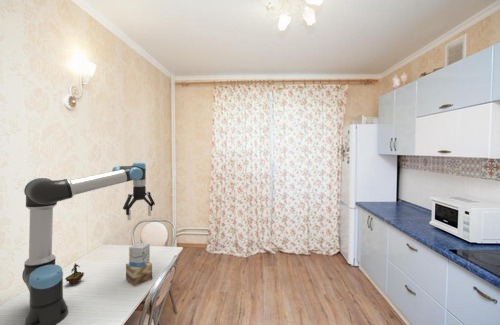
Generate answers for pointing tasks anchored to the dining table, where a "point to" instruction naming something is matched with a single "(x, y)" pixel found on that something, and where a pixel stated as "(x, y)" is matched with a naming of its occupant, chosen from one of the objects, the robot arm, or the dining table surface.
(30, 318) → the robot arm
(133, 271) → the slab top
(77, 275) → the figurine
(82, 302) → the dining table surface
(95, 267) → the dining table surface
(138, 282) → the slab bottom
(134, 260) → the ink box
